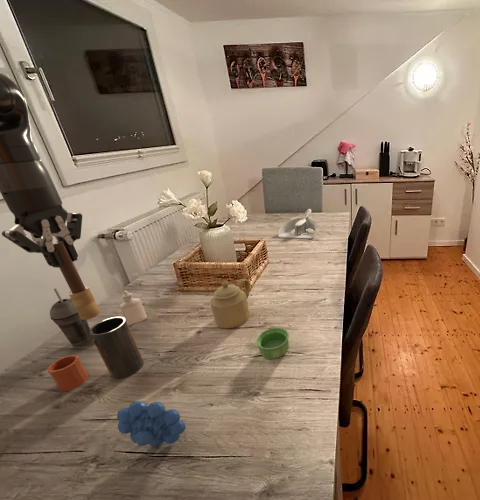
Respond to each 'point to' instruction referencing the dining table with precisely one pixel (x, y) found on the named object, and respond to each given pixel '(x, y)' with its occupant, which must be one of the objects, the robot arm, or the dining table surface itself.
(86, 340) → the beverage cup
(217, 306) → the sugar bowl
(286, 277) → the dining table surface
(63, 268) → the brown wooden rod
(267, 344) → the ramekin
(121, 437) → the dining table surface
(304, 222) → the dustpan and brush
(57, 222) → the robot arm
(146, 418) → the grapes
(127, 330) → the dark grey tumbler
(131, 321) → the eye dropper bottle
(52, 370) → the brush holder
